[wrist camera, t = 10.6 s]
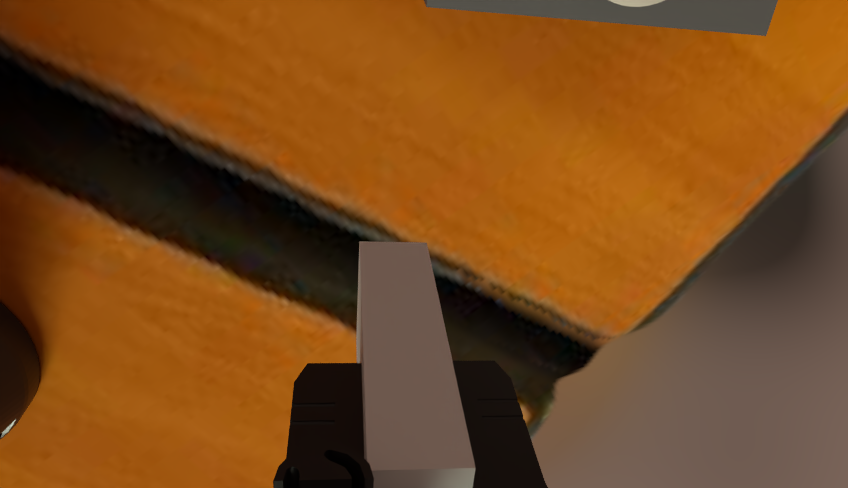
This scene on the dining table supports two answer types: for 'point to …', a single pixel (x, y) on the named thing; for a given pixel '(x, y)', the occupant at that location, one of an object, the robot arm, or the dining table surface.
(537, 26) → the dining table surface
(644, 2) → the cream knob
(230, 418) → the dining table surface
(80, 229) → the dining table surface
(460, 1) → the control box
